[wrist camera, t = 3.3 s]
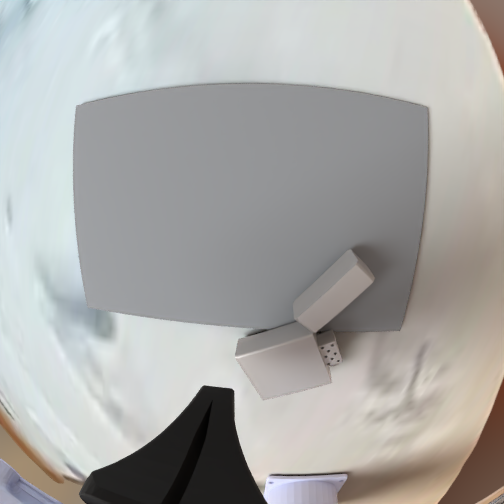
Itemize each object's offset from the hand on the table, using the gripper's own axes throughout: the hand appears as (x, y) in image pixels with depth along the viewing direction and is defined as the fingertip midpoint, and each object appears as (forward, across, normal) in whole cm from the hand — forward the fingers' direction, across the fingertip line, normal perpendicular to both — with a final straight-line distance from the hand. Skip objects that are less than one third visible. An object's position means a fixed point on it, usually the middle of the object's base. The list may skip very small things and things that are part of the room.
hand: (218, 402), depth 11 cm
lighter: (+4, 0, 0) cm, 4 cm away
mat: (+5, 0, -8) cm, 9 cm away
